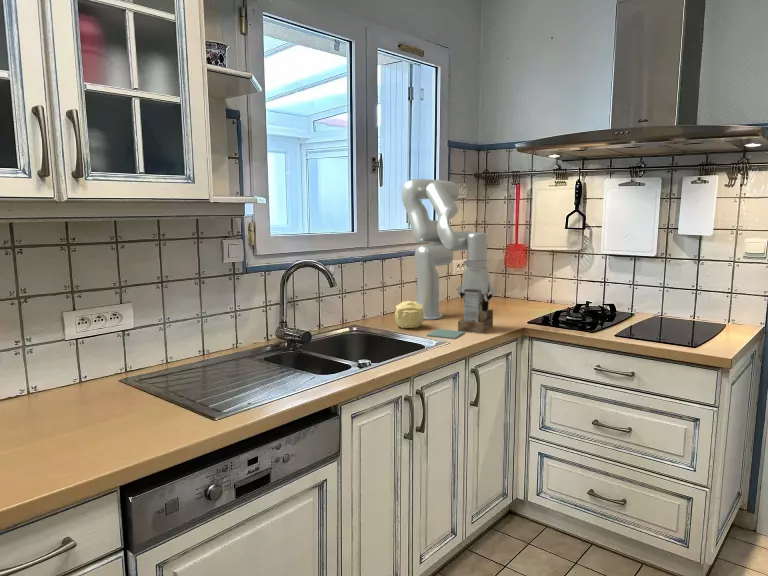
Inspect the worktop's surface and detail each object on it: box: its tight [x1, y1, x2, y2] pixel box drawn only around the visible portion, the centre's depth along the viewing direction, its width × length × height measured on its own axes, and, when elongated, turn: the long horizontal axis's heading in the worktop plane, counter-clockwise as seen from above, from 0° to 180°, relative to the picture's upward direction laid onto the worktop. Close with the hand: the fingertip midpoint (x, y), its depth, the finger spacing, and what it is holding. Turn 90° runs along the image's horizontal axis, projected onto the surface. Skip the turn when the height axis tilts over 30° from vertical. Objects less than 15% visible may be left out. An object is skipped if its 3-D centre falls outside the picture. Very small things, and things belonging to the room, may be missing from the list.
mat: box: [426, 328, 466, 340], centre depth 211 cm, size 11×11×1 cm
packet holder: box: [457, 308, 494, 334], centre depth 220 cm, size 10×13×7 cm
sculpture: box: [394, 300, 424, 329], centre depth 224 cm, size 11×12×11 cm
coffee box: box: [463, 289, 489, 322], centre depth 219 cm, size 9×6×16 cm
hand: (475, 309), depth 219 cm, fingers closed on coffee box, 6 cm apart
